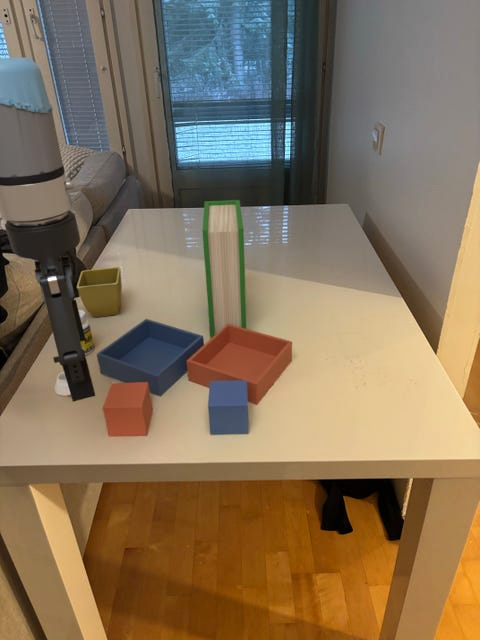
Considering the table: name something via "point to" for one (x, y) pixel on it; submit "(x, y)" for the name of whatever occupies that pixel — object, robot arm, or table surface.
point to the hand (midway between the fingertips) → (79, 367)
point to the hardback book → (224, 264)
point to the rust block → (128, 409)
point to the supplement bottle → (86, 334)
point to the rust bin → (241, 360)
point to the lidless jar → (61, 385)
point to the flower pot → (100, 291)
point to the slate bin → (150, 355)
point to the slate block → (228, 407)
